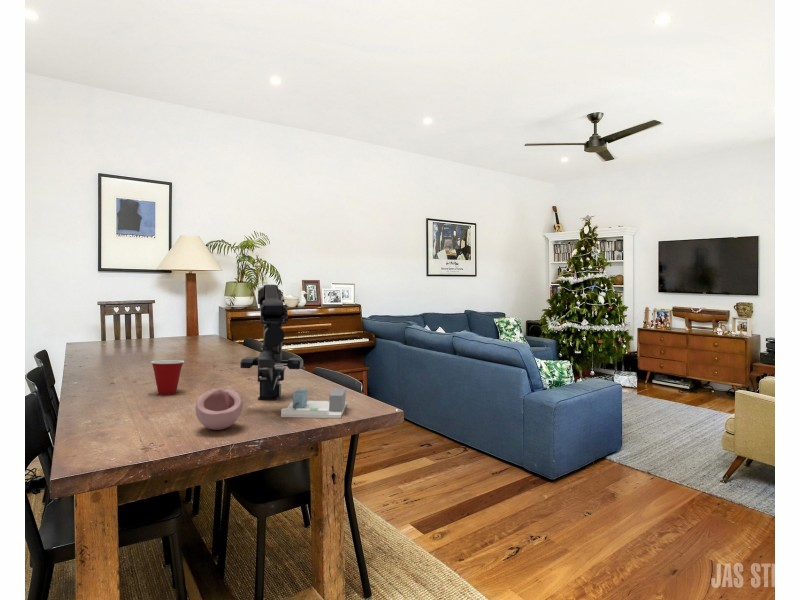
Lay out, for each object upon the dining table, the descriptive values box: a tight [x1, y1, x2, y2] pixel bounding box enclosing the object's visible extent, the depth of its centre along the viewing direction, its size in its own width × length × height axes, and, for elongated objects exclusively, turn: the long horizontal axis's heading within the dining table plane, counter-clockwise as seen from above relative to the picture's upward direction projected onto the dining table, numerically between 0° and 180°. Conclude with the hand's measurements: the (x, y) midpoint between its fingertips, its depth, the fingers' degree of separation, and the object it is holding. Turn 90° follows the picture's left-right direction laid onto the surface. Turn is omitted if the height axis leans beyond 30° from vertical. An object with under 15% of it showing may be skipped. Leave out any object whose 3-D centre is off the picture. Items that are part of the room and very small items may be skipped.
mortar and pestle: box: [194, 387, 243, 431], centre depth 125 cm, size 12×12×12 cm
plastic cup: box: [150, 359, 185, 396], centre depth 164 cm, size 11×11×12 cm
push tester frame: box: [280, 388, 348, 419], centre depth 145 cm, size 18×16×6 cm
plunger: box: [292, 388, 308, 408], centre depth 143 cm, size 3×12×5 cm, turn 0°
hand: (272, 389), depth 145 cm, fingers closed
